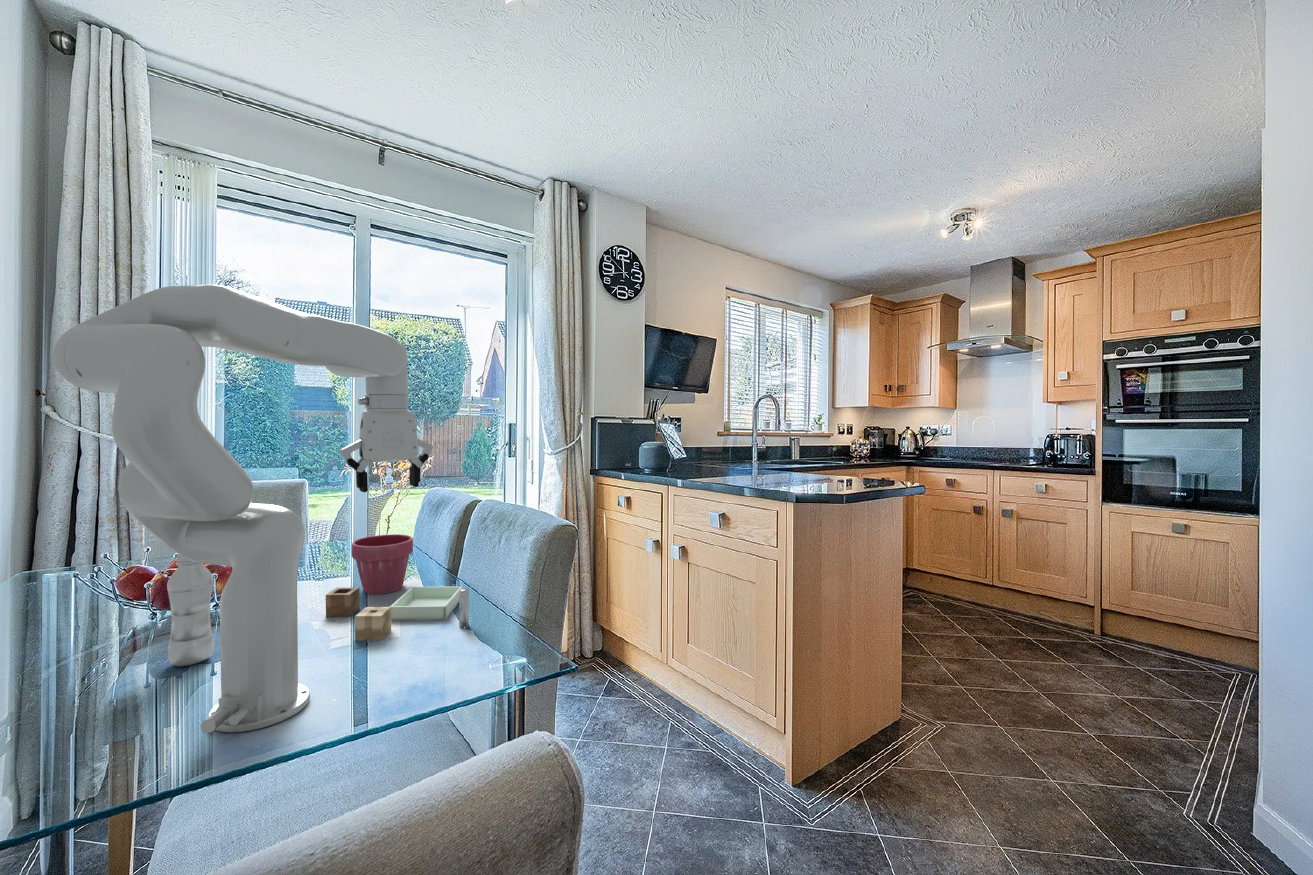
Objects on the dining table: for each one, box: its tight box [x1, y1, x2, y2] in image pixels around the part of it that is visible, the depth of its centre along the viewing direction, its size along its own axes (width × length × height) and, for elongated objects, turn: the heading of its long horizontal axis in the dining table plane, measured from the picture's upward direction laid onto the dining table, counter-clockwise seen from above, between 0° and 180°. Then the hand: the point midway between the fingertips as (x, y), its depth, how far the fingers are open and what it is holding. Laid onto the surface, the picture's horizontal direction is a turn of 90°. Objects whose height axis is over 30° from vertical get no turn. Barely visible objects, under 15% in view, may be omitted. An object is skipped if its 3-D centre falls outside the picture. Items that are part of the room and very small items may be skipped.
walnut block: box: [325, 587, 361, 618], centre depth 124 cm, size 5×5×5 cm
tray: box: [389, 585, 464, 621], centre depth 127 cm, size 14×12×3 cm
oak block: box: [354, 606, 392, 642], centre depth 112 cm, size 5×5×5 cm
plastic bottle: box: [166, 553, 215, 667], centre depth 98 cm, size 6×7×20 cm
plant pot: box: [351, 533, 414, 595], centre depth 141 cm, size 14×14×13 cm
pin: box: [458, 587, 470, 629], centre depth 117 cm, size 2×2×8 cm
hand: (389, 488), depth 111 cm, fingers open, 9 cm apart
